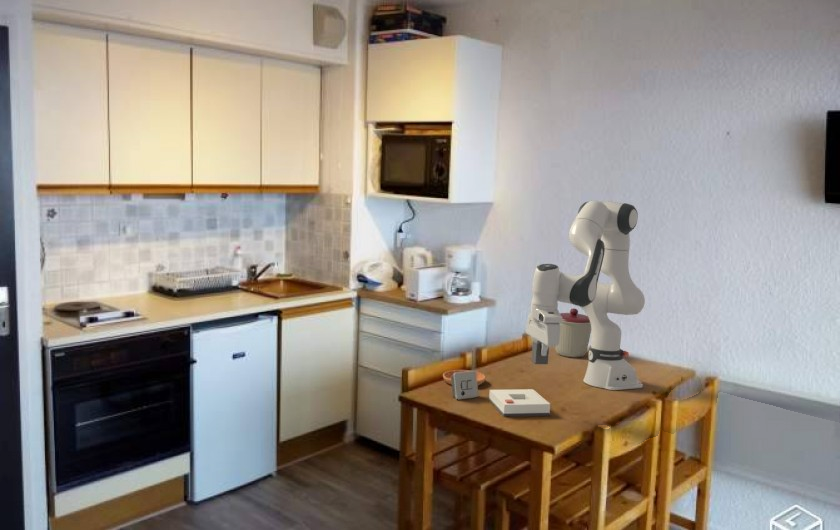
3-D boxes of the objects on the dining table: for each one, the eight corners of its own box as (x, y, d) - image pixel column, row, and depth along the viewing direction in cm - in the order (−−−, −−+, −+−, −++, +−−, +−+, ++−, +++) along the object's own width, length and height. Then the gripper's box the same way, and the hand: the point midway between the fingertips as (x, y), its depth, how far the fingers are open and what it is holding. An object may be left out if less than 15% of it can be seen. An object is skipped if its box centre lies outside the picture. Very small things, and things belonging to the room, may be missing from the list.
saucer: (435, 384, 272) (435, 376, 271) (453, 374, 286) (454, 366, 285) (474, 392, 265) (475, 384, 264) (491, 381, 279) (492, 374, 278)
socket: (532, 400, 258) (533, 387, 257) (549, 415, 242) (550, 402, 242) (488, 400, 255) (489, 388, 254) (503, 416, 239) (504, 403, 238)
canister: (567, 347, 339) (571, 303, 336) (599, 357, 325) (603, 310, 322) (541, 352, 328) (545, 306, 325) (573, 362, 314) (577, 314, 311)
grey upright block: (543, 361, 247) (545, 338, 246) (547, 364, 243) (549, 340, 242) (531, 361, 246) (533, 338, 245) (535, 364, 242) (537, 340, 241)
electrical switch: (456, 400, 253) (457, 374, 253) (448, 397, 257) (448, 371, 257) (478, 397, 258) (479, 371, 257) (470, 394, 262) (470, 369, 262)
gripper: (523, 306, 252) (520, 346, 254) (546, 318, 232) (543, 361, 234) (540, 307, 253) (536, 346, 255) (565, 319, 234) (561, 361, 235)
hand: (540, 353), depth 244 cm, fingers closed on grey upright block, 4 cm apart
